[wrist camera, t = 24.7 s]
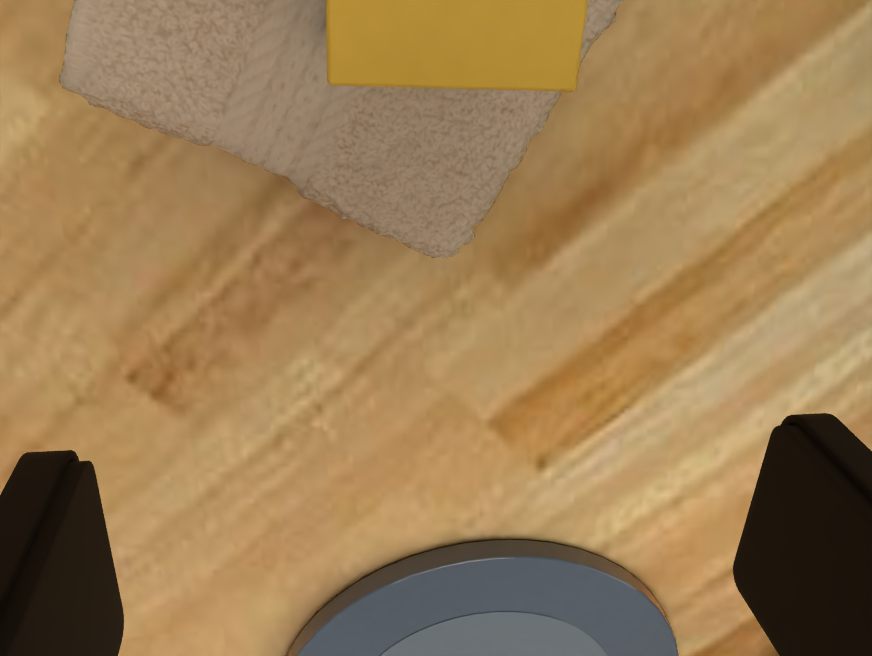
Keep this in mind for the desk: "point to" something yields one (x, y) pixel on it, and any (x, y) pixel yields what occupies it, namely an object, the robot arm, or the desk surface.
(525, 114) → the washcloth
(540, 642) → the plate
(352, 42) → the sponge
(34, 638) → the robot arm
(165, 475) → the desk surface
